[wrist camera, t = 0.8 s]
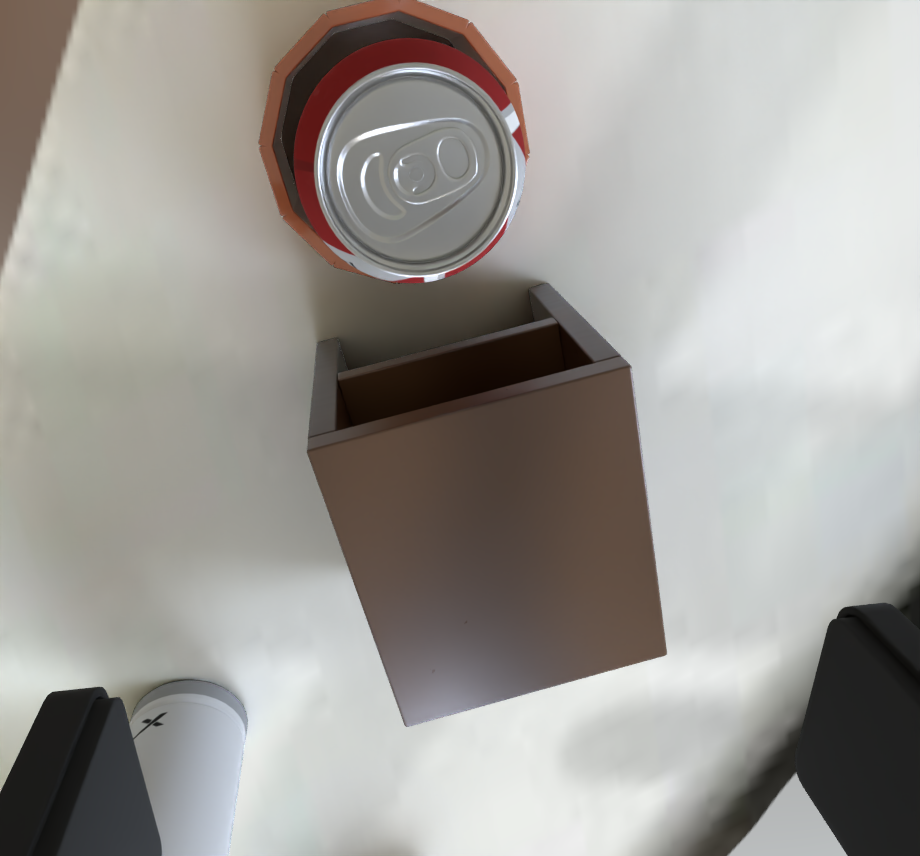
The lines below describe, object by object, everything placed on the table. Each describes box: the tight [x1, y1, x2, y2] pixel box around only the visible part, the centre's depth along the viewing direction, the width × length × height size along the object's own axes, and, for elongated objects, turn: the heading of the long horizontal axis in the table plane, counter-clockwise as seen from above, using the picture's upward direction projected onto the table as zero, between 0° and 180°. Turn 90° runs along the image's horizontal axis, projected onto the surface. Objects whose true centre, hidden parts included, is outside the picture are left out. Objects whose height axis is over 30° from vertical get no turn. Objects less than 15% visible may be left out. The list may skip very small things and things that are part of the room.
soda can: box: [294, 38, 526, 283], centre depth 25 cm, size 7×7×12 cm
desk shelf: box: [307, 283, 667, 727], centre depth 32 cm, size 11×13×11 cm
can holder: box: [259, 0, 530, 284], centre depth 29 cm, size 10×10×4 cm
